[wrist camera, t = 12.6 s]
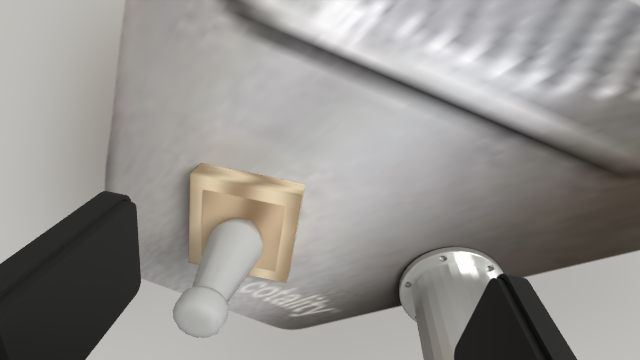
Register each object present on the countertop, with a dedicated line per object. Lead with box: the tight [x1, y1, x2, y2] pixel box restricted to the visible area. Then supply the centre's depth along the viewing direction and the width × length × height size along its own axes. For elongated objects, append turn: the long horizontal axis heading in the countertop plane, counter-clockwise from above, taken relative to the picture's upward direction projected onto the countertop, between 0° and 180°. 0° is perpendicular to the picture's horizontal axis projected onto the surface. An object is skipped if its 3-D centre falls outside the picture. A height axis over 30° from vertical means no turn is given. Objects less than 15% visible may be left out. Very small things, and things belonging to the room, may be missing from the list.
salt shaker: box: [173, 217, 263, 338], centre depth 34 cm, size 6×6×13 cm
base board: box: [189, 163, 305, 283], centre depth 41 cm, size 12×12×3 cm
